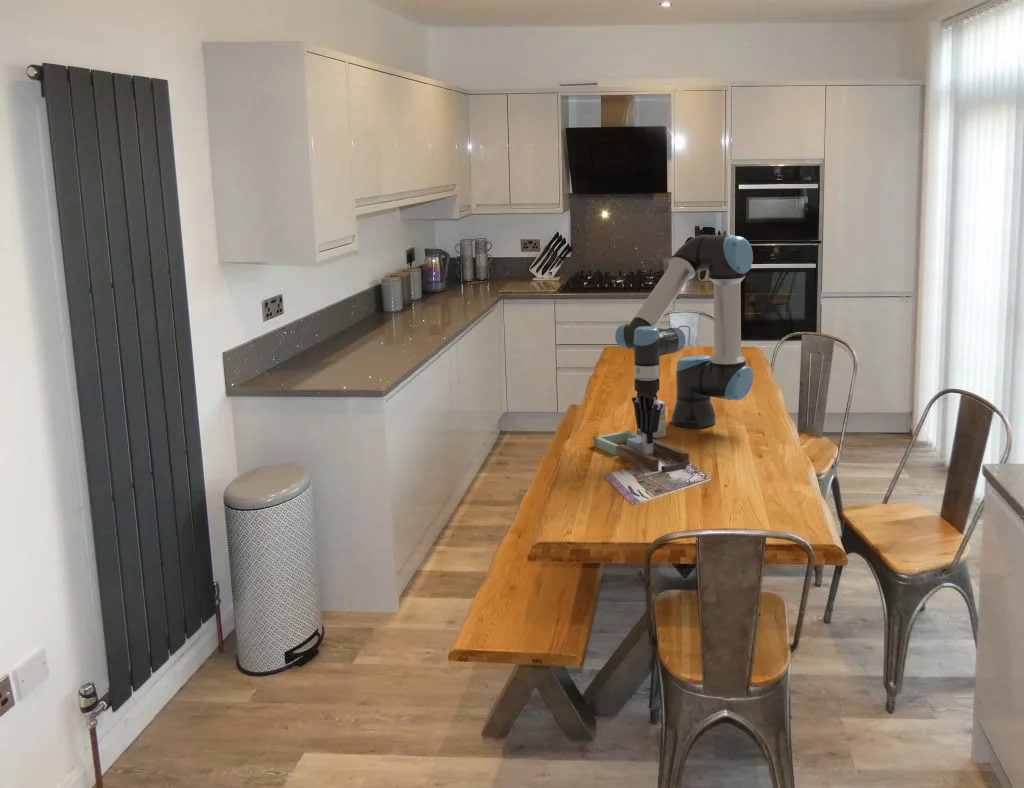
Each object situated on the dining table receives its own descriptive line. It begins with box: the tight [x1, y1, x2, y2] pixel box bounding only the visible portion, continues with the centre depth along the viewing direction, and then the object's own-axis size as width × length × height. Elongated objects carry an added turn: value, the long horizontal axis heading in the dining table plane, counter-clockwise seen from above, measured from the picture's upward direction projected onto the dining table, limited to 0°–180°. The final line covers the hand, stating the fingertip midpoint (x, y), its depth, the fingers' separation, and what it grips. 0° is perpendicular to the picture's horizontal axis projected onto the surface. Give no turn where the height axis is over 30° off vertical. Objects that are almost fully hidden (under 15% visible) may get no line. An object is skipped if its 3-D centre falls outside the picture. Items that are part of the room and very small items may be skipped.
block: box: [626, 436, 655, 457], centre depth 313 cm, size 6×6×5 cm
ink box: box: [636, 399, 667, 439], centre depth 333 cm, size 9×5×12 cm, turn 105°
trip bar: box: [661, 462, 688, 473], centre depth 298 cm, size 8×2×2 cm, turn 117°
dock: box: [593, 430, 641, 456], centre depth 322 cm, size 13×12×3 cm
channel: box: [618, 439, 690, 473], centre depth 307 cm, size 13×18×4 cm
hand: (647, 452), depth 310 cm, fingers closed
